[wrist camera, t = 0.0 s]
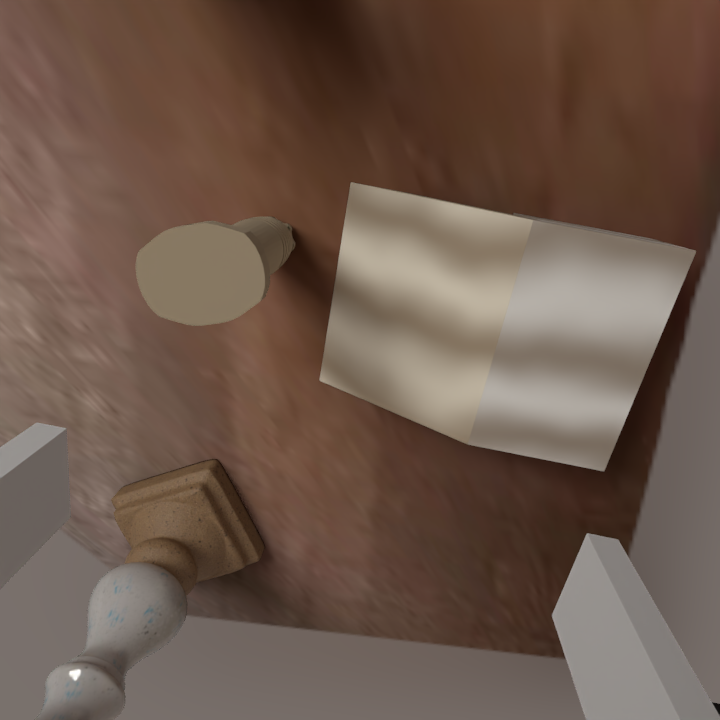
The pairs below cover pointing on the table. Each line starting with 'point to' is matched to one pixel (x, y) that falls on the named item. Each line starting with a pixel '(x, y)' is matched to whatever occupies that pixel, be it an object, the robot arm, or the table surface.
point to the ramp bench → (497, 322)
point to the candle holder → (152, 582)
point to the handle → (212, 268)
